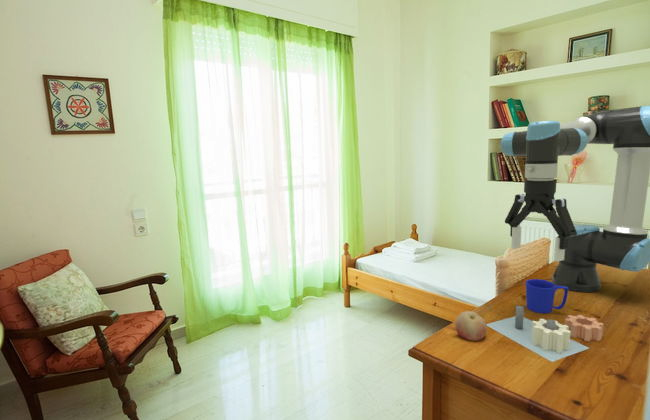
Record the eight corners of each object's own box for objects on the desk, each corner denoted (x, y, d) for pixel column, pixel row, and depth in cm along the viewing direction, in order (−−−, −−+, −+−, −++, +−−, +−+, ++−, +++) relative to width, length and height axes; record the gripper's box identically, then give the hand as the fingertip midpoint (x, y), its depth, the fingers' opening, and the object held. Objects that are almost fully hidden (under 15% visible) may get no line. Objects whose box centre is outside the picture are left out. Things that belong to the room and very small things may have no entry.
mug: (572, 319, 110) (574, 289, 108) (529, 317, 112) (531, 288, 111) (560, 308, 118) (562, 279, 116) (520, 306, 120) (522, 278, 119)
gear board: (519, 319, 112) (520, 295, 110) (589, 353, 92) (591, 324, 91) (485, 329, 107) (485, 304, 105) (551, 367, 87) (553, 337, 86)
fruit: (467, 349, 97) (468, 322, 95) (449, 335, 104) (450, 309, 103) (492, 344, 99) (493, 317, 97) (473, 330, 106) (473, 305, 105)
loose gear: (577, 328, 105) (578, 312, 104) (609, 341, 97) (611, 325, 96) (557, 334, 102) (558, 318, 101) (588, 349, 94) (590, 332, 93)
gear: (536, 332, 101) (537, 315, 100) (572, 343, 95) (574, 325, 94) (526, 344, 95) (527, 327, 94) (564, 356, 89) (565, 338, 88)
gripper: (493, 177, 107) (491, 245, 111) (576, 183, 84) (570, 268, 88) (512, 175, 110) (509, 242, 113) (597, 181, 87) (590, 264, 90)
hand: (536, 254), depth 100 cm, fingers open, 13 cm apart
